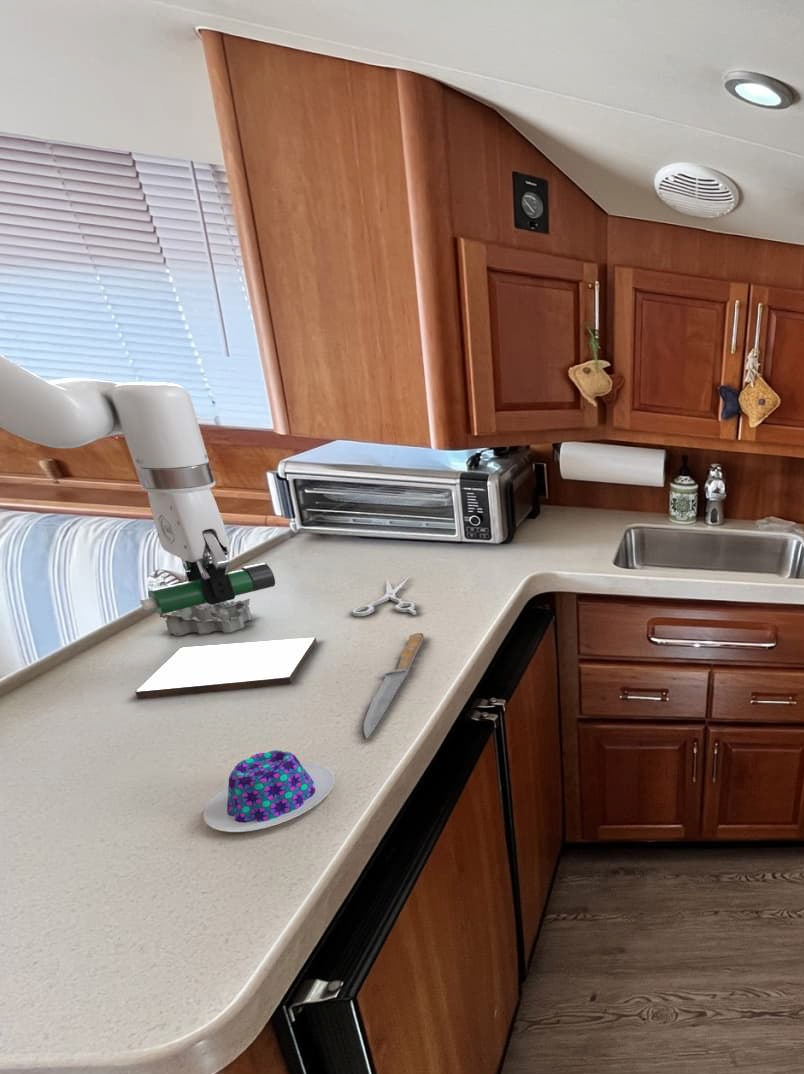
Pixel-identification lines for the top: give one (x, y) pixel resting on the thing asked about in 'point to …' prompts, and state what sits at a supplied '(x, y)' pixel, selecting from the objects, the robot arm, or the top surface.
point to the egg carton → (209, 618)
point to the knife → (391, 684)
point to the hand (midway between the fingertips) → (214, 596)
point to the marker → (194, 595)
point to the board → (229, 667)
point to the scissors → (388, 596)
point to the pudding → (267, 792)
